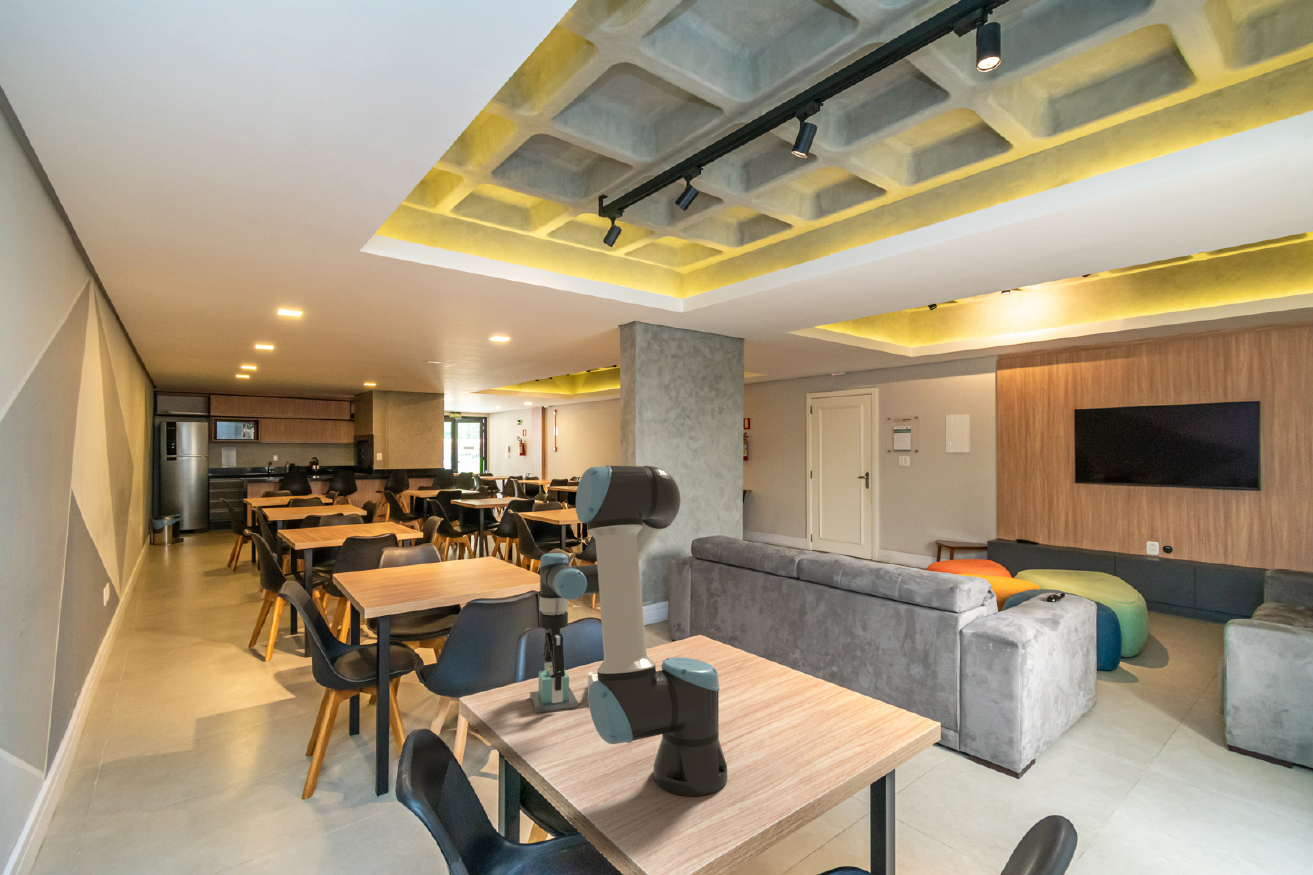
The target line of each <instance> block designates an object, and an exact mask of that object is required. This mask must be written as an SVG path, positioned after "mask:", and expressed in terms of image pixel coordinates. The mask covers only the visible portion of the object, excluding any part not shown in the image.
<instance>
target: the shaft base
mask: <svg viewBox="0 0 1313 875" xmlns="http://www.w3.org/2000/svg"><path fill="white" fill-rule="evenodd" d="M551 675H553V668H552V666H550V667H549V677H550V676H551ZM529 698H530V699H529V700H530V701H531V704H532V707H533V710H534V712H535V714H539V713H548V712H554V711H555V712H557V711H565V710H570V709H578V707H579V704H578V702H579V701H578V699H577V698H576V696H575V695H574V692H573V691H572V689H571V687H570V686H569V700H564V701H563V702H557V703H552V702H549V703H542V701H541V698H540V696H539V690H538V691H537V690H536V691H530V692H529Z"/></svg>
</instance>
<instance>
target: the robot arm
mask: <svg viewBox="0 0 1313 875" xmlns="http://www.w3.org/2000/svg"><path fill="white" fill-rule="evenodd" d="M577 485H578V486H577V490H576V495H575V512H576V513H575V514H576V515H577V516H576V517H577V519H578V520H579V521H580V522H581V523H583V524H586V528H587V530H586V531H587V533H588V534H589V535H590V536H591V537H592V538H593V539H594V540H595V551H596V564H587V565H586V564H584V565H571V566H570V562H569V556H568V554H566V553H562V552H561V553H559V552H551V553H544V554H543V555H542V556H541V557H540V561H539V562H540V563H539V565H540V566H539V611H540V614H539V627H540V628H541V629H544V641H543V642H544V643H543V654H542V657H543V660H544V670H548V669H549V667H550V666H552V668H553V675H551V676H550V678H552V703H557V702H563V677H564V676H565V672H564V669H565V659H564V658H565V657H564V636H563V633H561V629H565V628H566V627H567V626H568V624H569V612H568V611H567V610H568V609H569V608H568V607H569V604H568V602H570V601H571V600H576V599H577V600H578V599H579V598H580V597H583V596H586V595H587V596H588V595H596V594H599V595H598V596H599V605H600V606H599V607H600V619H601V620H600V622H601V633H602V634H601V635H602V647H603V650H602V651H603V661H602V663H601V664H600V665H599V667H598V668H597V670H596V671H597V673H596V674H598V680H597V681H594V682H593V683H592V684H591V685H590V687H589V693H588V692H587V702H588V701H589V703H588V706H589V707H588V708H589V712H590V715H591V719H592V722H593V725H594V728H595V730H596V732H597V733H598V735H599V736H600V738H601V739H602V740H603V741H604V742H605V743H607V744H608V745H617V744H618V745H619V744H624V743H627V744H630V743H632V742H634V741H638V740H642V739H647V738H652V737H655V736H660V735H662V736H661V740H660V743H659V747H658V750H657V753H656V756H655V759H654V763H653V780H654V783H656V785H658V787H660V788H661V789H662V790H664V791H666V792H668V793H671V794H674V795H678V796H685V797H700V796H707V795H711V794H713V793H716V792H718V791H720V790H721V789H722V788H724V787H725V786H726V784H727V782H728V765H727V762H726V759H725V755H724V751H723V749H722V745H721V742H720V738H719V735H720V734H719V733H720V732H719V725H720V724H719V714H720V712H719V710H720V708H719V706H720V705H719V703H720V702H719V697H720V696H719V691H720V684H719V675H718V671H717V669H716V668H715V667H714V666H713V665H712V664H710V663H707V662H706V661H703V660H699V659H697V658H696V659H695V658H691V657H690V658H689V657H676V656H675V657H673V656H672V657H668V658H667V657H666V659H664V660H662V664H661V665H660V666H661V670H660V669H659V670H657V669H656V663H655V662H654V661H653V660H652V659H650V657H649V656H648V653H647V652H648V651H647V642H646V641H647V640H646V631H645V630H646V628H645V619H644V609H643V608H644V607H643V596H642V595H643V594H642V586H641V585H642V584H641V574H640V572H641V571H640V562H641V560H642V559H643V558H644V557H645V555H646V553H647V551H649V548H650V547H651V546H652V544H653V543H654V541H655V540H656V538H658V536H659V534H660V533H661V531H662V530H664V529H667V528H669V527H670V526H671V525H672V524H673V522H674V521H675V519H676V517H677V516H678V513H679V511H680V507H681V492H680V489H679V486H678V484H677V482H676V480H675V479H674V478H673V477H672V475H671V474H669V473H668V472H667V471H665V470H664V469H662V468H660V467H657V466H653V465H643V466H642V465H639V466H638V465H600V466H591V467H589V468H587V469H586V470H585V471H584V472H583V474H582V476H581V478H580V479H579V482H578V484H577ZM559 671H560V672H559Z"/></svg>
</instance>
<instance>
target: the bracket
mask: <svg viewBox="0 0 1313 875" xmlns="http://www.w3.org/2000/svg"><path fill="white" fill-rule="evenodd" d="M597 680H598V673H594V672H593V671H589V672H588V674H587V694H588V693H589V687H590V685H591V684H592V683H593V682H594V681H597ZM587 703H588V704H589V701H588V700H587Z"/></svg>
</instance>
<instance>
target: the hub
mask: <svg viewBox="0 0 1313 875" xmlns="http://www.w3.org/2000/svg"><path fill="white" fill-rule="evenodd" d="M559 672H560V671H559ZM564 672H565V676H564V677H563V701H564V700H569V687H570V676H569V673H568V672H567V671H566V669H565V668H564ZM538 691H539V696H540V698H541V701H542V703H549V702H552V678H550V677H549V669H548V670H545V669H543V670H538Z"/></svg>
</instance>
